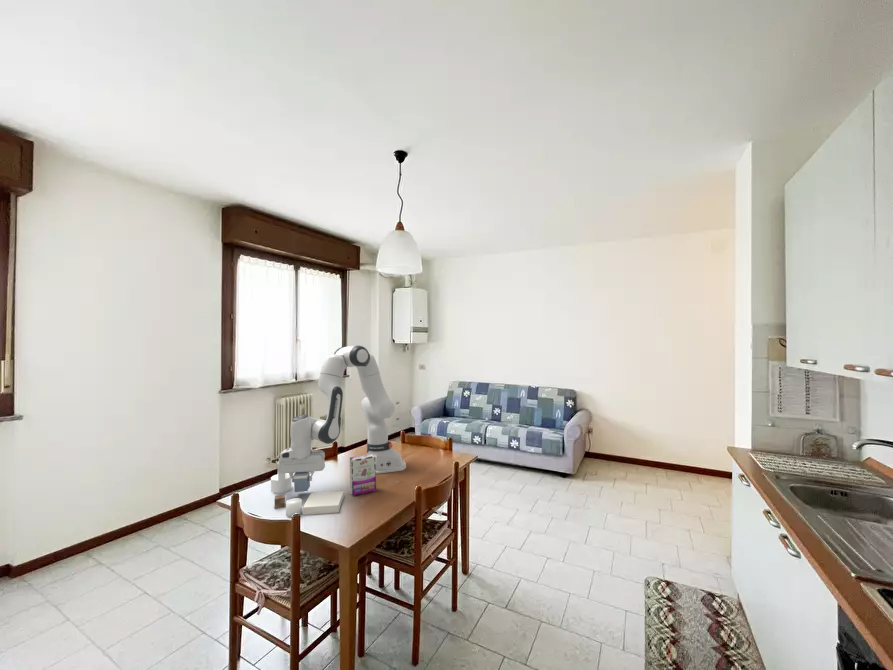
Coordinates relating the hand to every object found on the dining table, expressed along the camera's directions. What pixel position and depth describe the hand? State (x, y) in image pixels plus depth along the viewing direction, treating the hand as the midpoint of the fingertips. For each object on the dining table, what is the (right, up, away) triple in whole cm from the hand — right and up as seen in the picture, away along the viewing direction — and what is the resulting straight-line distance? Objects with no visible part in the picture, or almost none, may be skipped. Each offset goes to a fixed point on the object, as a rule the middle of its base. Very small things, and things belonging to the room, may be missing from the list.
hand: (302, 481), depth 167 cm
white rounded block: (+4, -6, -18) cm, 19 cm away
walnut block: (-5, -6, -11) cm, 14 cm away
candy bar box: (+27, -6, +2) cm, 28 cm away
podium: (+14, -6, -12) cm, 19 cm away
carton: (0, -4, 0) cm, 4 cm away
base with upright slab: (-12, -7, +6) cm, 15 cm away
